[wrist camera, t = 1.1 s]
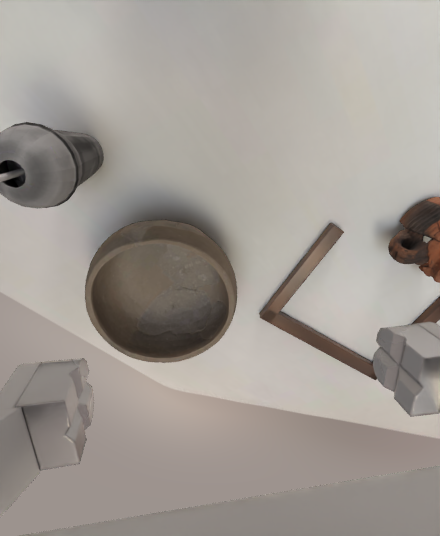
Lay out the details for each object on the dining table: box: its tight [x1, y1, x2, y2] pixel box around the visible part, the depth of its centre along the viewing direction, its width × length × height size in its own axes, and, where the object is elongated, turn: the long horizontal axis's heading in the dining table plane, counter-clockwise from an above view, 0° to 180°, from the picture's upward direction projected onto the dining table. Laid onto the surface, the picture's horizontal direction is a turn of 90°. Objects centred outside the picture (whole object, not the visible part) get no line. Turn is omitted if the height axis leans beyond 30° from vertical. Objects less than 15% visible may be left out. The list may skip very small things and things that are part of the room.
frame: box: [260, 223, 440, 380], centre depth 48 cm, size 16×23×1 cm
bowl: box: [85, 220, 237, 363], centre depth 42 cm, size 17×18×10 cm
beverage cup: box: [0, 122, 103, 208], centre depth 31 cm, size 7×7×20 cm
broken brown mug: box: [388, 197, 440, 283], centre depth 42 cm, size 12×10×8 cm
